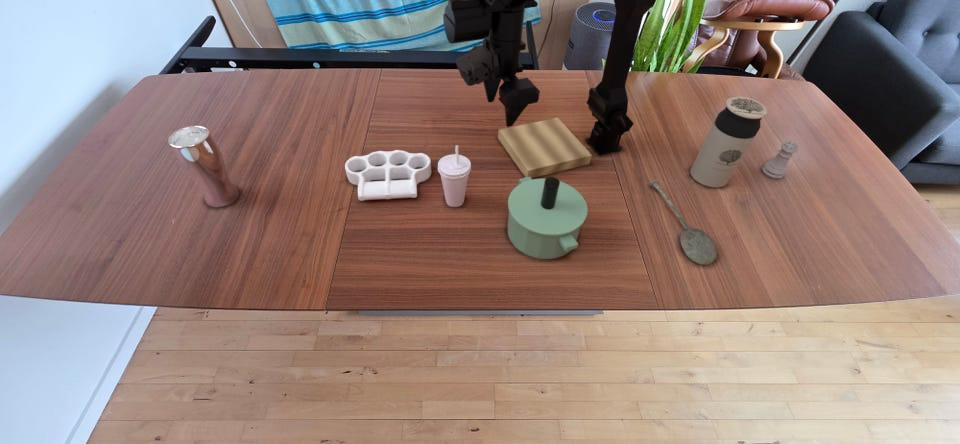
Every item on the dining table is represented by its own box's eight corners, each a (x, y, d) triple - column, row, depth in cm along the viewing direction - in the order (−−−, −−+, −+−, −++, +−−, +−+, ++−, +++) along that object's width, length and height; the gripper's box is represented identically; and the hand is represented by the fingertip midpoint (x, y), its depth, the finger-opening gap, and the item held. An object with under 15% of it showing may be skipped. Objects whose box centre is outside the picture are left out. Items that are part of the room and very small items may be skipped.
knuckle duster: (343, 205, 87) (350, 160, 96) (433, 200, 88) (430, 156, 98) (340, 193, 84) (347, 148, 94) (432, 188, 86) (429, 144, 96)
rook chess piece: (782, 170, 99) (802, 141, 93) (782, 181, 96) (803, 153, 90) (761, 164, 100) (780, 136, 94) (761, 175, 97) (780, 147, 91)
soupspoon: (687, 269, 79) (719, 266, 80) (696, 258, 76) (728, 255, 78) (639, 186, 93) (666, 184, 94) (644, 174, 90) (672, 173, 92)
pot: (549, 193, 91) (554, 167, 86) (597, 258, 79) (606, 233, 74) (491, 208, 87) (493, 182, 82) (532, 279, 76) (537, 254, 70)
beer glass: (248, 190, 89) (218, 129, 78) (224, 212, 84) (189, 151, 73) (221, 182, 90) (187, 121, 79) (196, 204, 86) (157, 142, 75)
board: (556, 125, 108) (557, 117, 106) (589, 163, 98) (591, 155, 96) (497, 138, 104) (498, 129, 102) (526, 179, 94) (528, 170, 92)
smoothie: (466, 214, 86) (467, 158, 76) (435, 208, 87) (432, 153, 76) (473, 192, 90) (474, 137, 80) (443, 188, 91) (441, 133, 81)
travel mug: (689, 162, 100) (724, 92, 87) (726, 170, 98) (767, 100, 85) (689, 183, 94) (726, 112, 81) (727, 192, 93) (771, 121, 80)
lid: (561, 175, 85) (567, 149, 80) (601, 226, 76) (611, 199, 71) (495, 192, 81) (497, 165, 76) (528, 247, 72) (533, 220, 67)
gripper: (443, 19, 77) (445, 96, 88) (482, 66, 65) (479, 149, 77) (500, 11, 80) (495, 88, 91) (546, 56, 68) (534, 137, 80)
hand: (499, 113), depth 85 cm, fingers open, 9 cm apart
